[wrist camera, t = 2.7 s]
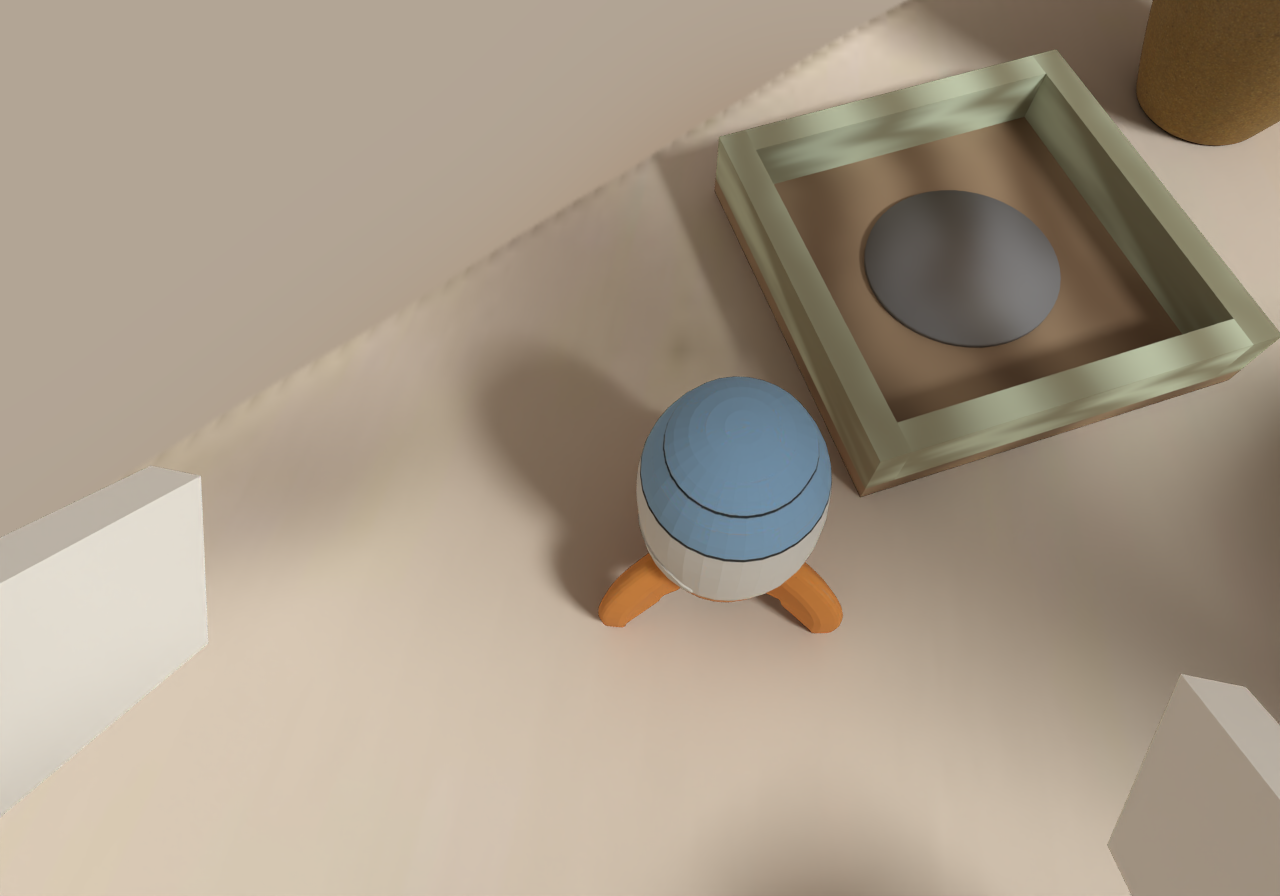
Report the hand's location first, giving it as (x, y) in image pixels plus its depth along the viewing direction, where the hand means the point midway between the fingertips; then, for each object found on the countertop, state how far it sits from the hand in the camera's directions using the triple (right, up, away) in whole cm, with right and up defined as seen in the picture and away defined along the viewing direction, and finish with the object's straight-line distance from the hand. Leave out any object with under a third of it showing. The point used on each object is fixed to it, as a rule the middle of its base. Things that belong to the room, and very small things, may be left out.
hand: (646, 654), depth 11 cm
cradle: (+17, +12, +33) cm, 39 cm away
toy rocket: (+4, -2, +28) cm, 28 cm away
